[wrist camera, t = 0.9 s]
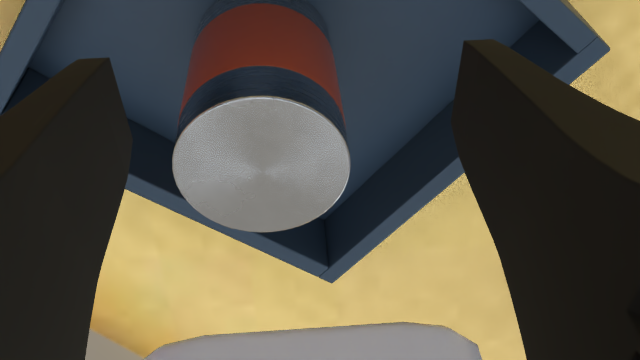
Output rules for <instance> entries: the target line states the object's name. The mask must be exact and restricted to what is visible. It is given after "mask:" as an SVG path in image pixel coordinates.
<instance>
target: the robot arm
mask: <svg viewBox="0 0 640 360" xmlns="http://www.w3.org/2000/svg"><path fill="white" fill-rule="evenodd" d="M451 126H452V131H453V135H454V139H455V143H456V147H457V151H458V155H459V159H460V162H461V164H462V167H463V169H464V171H465V174H466V176H467V179H468V181H469V184H470V186H471V188H472V191H473V193H474V195H475V198H476V200H477V202H478V205H479V207H480V210H481V212H482V214H483V217H484V219H485V221H486V224H487V226H488V228H489V231H490V233H491V235H492V238H493V240H494V243H495V246H496V248H497V251H498V254H499V257H500V260H501V263H502V267H503V270H504V274H505V277H506V280H507V284H508V287H509V291H510V294H511V298H512V302H513V306H514V310H515V313H516V317H517V321H518V325H519V329H520V333H521V336H522V341H523V345H524V349H525V353H526V358H527V360H640V121H639V120H636V119H634V118H632V117H630V116H627V115H625V114H623V113H620V112H618V111H616V110H614V109H612V108H610V107H608V106H606V105H604V104H602V103H600V102H599V101H597V100H595V99H593V98H591V97H589V96H588V95H586V94H584V93H582V92H580V91H578V90H577V89H575V88H573V87H572V86H570V85H568V84H566V83H565V82H563V81H561V80H560V79H558V78H556V77H555V76H553V75H552V74H550V73H548V72H547V71H545V70H544V69H542V68H540V67H539V66H537V65H536V64H534V63H533V62H531V61H529V60H528V59H526V58H525V57H523V56H522V55H520V54H518V53H517V52H515V51H514V50H512V49H510V48H509V47H507V46H505V45H504V44H502V43H500V42H498V41H496V40H494V39H485V40H464V42H463V48H462V54H461V60H460V66H459V73H458V79H457V85H456V91H455V97H454V103H453V110H452V116H451ZM132 142H133V138H132V134H131V131H130V127H129V124H128V120H127V117H126V113H125V110H124V106H123V103H122V99H121V96H120V92H119V89H118V85H117V82H116V78H115V75H114V71H113V68H112V64H111V61H110V57H108V58H87V59H78V60H76V61H74V62H73V63H71V64H70V65H68V66H67V67H65V68H64V69H63V70H61V71H60V72H59V73H57V74H56V75H55V76H53V77H52V78H51V79H49V80H48V81H47V82H45V83H44V84H43V85H42V86H40V87H39V88H38V89H36V90H35V91H34V92H32V93H31V94H30V95H28V96H27V97H26V98H24V99H23V100H22V101H21V102H19V103H18V104H17V105H15V106H14V107H13V108H11V109H10V110H8V111H7V112H5V113H4V114H3V115H1V116H0V360H85V355H86V348H87V341H88V334H89V328H90V322H91V316H92V310H93V304H94V299H95V293H96V287H97V282H98V278H99V274H100V270H101V266H102V262H103V259H104V256H105V252H106V249H107V246H108V242H109V239H110V236H111V233H112V229H113V226H114V223H115V220H116V216H117V213H118V210H119V206H120V203H121V200H122V196H123V193H124V189H125V186H126V182H127V179H128V172H129V166H130V158H131V150H132ZM143 360H482V358H481V355H480V352H479V348H478V345H477V344H475V343H473V342H472V341H470V340H468V339H467V338H465V337H463V336H462V335H460V334H458V333H457V332H455V331H453V330H452V329H450V328H447V327H445V326H440V325H430V324H419V323H409V322H397V323H382V324H367V325H352V326H337V327H322V328H307V329H292V330H278V331H263V332H248V333H233V334H218V335H204V336H200V337H195V338H191V339H187V340H182V341H178V342H174V343H169V344H165V345H163V346H161V347H159V348H157V349H156V350H155V351H153V352H152V353H151V354H150V355H148V356H147V357H146V358H144V359H143Z"/></svg>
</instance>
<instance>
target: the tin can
mask: <svg viewBox="0 0 640 360" xmlns="http://www.w3.org/2000/svg"><path fill="white" fill-rule="evenodd" d="M350 167H351V161H350V152H349V146H348V140H347V134H346V126H345V119H344V113H343V107H342V101H341V96H340V90H339V84H338V78H337V72H336V66H335V61H334V56H333V52H332V46H331V41H330V36H329V32H328V29H327V26H326V24H325V22H324V20H323V18H322V16H321V15H320V13H319V12H318V11H317V10H316V8H315V7H314V6H313V5H312V4H311V3H310V2H308V1H307V0H216V1H215V2H214V3H213V4H212V5H211V6H210V7H209V8H208V9H207V10H206V12H205V13H204V14H203V16H202V18H201V20H200V22H199V25H198V28H197V30H196V36H195V41H194V46H193V49H192V53H191V58H190V64H189V69H188V74H187V79H186V84H185V89H184V94H183V100H182V105H181V110H180V115H179V121H178V129H177V134H176V140H175V145H174V150H173V156H172V170H173V176H174V179H175V182H176V185H177V187H178V189H179V190H180V192H181V194H182V195H183V197H184V198H185V199H186V201H187V202H188V203H189V204H190V205H191V206H192V207H193V208H194V209H195V210H197V211H198V212H199V213H200V214H202V215H203V216H205V217H207V218H208V219H210V220H212V221H214V222H216V223H218V224H220V225H223V226H226V227H229V228H233V229H237V230H242V231H248V232H275V231H282V230H287V229H292V228H295V227H298V226H301V225H303V224H306V223H308V222H310V221H312V220H314V219H316V218H317V217H319V216H320V215H322V214H323V213H325V212H326V211H327V210H328V209H329V208H330V207H332V206H333V205H334V203H335V202H336V201H337V200H338V199H339V197H340V196H341V194H342V193H343V191H344V189H345V187H346V184H347V182H348V179H349V175H350Z"/></svg>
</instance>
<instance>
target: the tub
mask: <svg viewBox="0 0 640 360" xmlns="http://www.w3.org/2000/svg"><path fill="white" fill-rule="evenodd" d="M215 1H216V0H26V1H25V3H24V5H23V7H22V9H21V11H20V13H19V15H18V17H17V19H16V21H15V23H14V25H13V27H12V29H11V31H10V33H9V35H8V37H7V39H6V42H5V44H4V46H3V48H2V50H1V52H0V116H1V115H3V114H4V113H5V112H7V111H8V110H10V109H11V108H13V107H14V106H15V105H17V104H18V103H19V102H21V101H22V100H23V99H24V98H26V97H27V96H28V95H30V94H31V93H32V92H34V91H35V90H36V89H38V88H39V87H40V86H42V85H43V84H44V83H45V82H47V81H48V80H49V79H51V78H52V77H53V76H55V75H56V74H57V73H59V72H60V71H61V70H63V69H64V68H65V67H67V66H68V65H70V64H71V63H73V62H74V61H76V60H78V59H87V58H108V57H110V61H111V64H112V68H113V71H114V75H115V78H116V82H117V85H118V89H119V92H120V96H121V99H122V103H123V106H124V110H125V113H126V117H127V120H128V124H129V127H130V131H131V134H132V138H133V142H132V150H131V158H130V166H129V172H128V179H127V182H126V186H125V189H127V190H129V191H131V192H133V193H135V194H137V195H140V196H142V197H144V198H146V199H148V200H151V201H153V202H155V203H157V204H159V205H162V206H164V207H166V208H168V209H170V210H172V211H175V212H177V213H179V214H181V215H183V216H186V217H188V218H190V219H192V220H194V221H197V222H199V223H201V224H203V225H205V226H208V227H210V228H212V229H214V230H216V231H218V232H221V233H223V234H225V235H227V236H229V237H232V238H234V239H236V240H238V241H240V242H243V243H245V244H247V245H249V246H251V247H253V248H256V249H258V250H260V251H262V252H264V253H267V254H269V255H271V256H273V257H275V258H278V259H280V260H282V261H284V262H286V263H289V264H291V265H293V266H295V267H297V268H299V269H302V270H304V271H306V272H308V273H310V274H313V275H315V276H317V277H318V276H319V278H321V279H323V280H325V281H328V282H330V283H333V282H334V281H336V280H337V279H338V278H339V277H340V276H342V275H343V274H344V273H345V272H346V271H348V270H349V269H350V268H351V267H352V266H354V265H355V264H356V263H357V262H358V261H360V260H361V259H362V258H363V257H364V256H365V255H367V254H368V253H369V252H370V251H371V250H373V249H374V248H375V247H376V246H377V245H379V244H380V243H381V242H382V241H383V240H385V239H386V238H387V237H388V236H389V235H391V234H392V233H393V232H394V231H395V230H396V229H398V228H399V227H400V226H401V225H402V224H404V223H405V222H406V221H407V220H408V219H410V218H411V217H412V216H413V215H414V214H416V213H417V212H418V211H419V210H420V209H422V208H423V207H424V206H425V205H426V204H427V203H429V202H430V201H431V200H432V199H433V198H435V197H436V196H437V195H438V194H439V193H441V192H442V191H443V190H444V189H445V188H447V187H448V186H449V185H450V184H451V183H453V182H454V181H455V180H456V179H457V178H458V177H460V176H461V175H462V174H463V173H464V172H465V171H464V169H463V167H462V164H461V162H460V159H459V155H458V151H457V147H456V143H455V139H454V135H453V131H452V126H451V116H452V110H453V103H454V97H455V91H456V85H457V79H458V73H459V66H460V60H461V54H462V48H463V42H464V40H485V39H494V40H496V41H498V42H500V43H502V44H504V45H505V46H507V47H509V48H510V49H512V50H514V51H515V52H517V53H518V54H520V55H522V56H523V57H525V58H526V59H528V60H529V61H531V62H533V63H534V64H536V65H537V66H539V67H540V68H542V69H544V70H545V71H547V72H548V73H550V74H552V75H553V76H555V77H556V78H558V79H560V80H561V81H563V82H565V83H566V84H568V85H569V84H571V83H572V82H573V81H574V80H575V79H577V78H578V77H579V76H580V75H581V74H582V73H584V72H585V71H586V70H587V69H588V68H590V67H591V66H592V65H593V64H594V63H596V62H597V61H598V60H599V59H600V58H602V57H603V56H604V55H605V54H606V53H608V52H609V51H610V47H609V46H608V45H607V44H606V43H605V42H604V41H603V39H602V38H601V37H600V36H599V35H598V34H597V33H596V32H595V30H594V29H593V28H592V27H591V26H590V25H589V24H588V23H587V22H586V20H585V19H584V18H583V17H582V16H581V15H580V14H579V13H578V12H577V10H576V9H575V8H574V7H573V6H572V5H571V4H570V3H569V2H568V1H567V0H307V1H308V2H310V3H311V4H312V5H313V6H314V7H315V8H316V10H317V11H318V12H319V13H320V15H321V16H322V18H323V20H324V22H325V24H326V26H327V29H328V32H329V36H330V41H331V46H332V52H333V56H334V61H335V66H336V72H337V78H338V84H339V90H340V96H341V101H342V107H343V113H344V119H345V126H346V134H347V140H348V146H349V152H350V161H351V167H350V175H349V179H348V182H347V184H346V187H345V189H344V191H343V193H342V194H341V196H340V197H339V199H338V200H337V201H336V202H335V203H334V205H333V206H332V207H330V208H329V209H328V210H327V211H326V212H325V213H323V214H322V215H320V216H319V217H317V218H316V219H314V220H312V221H310V222H308V223H306V224H303V225H301V226H298V227H295V228H292V229H287V230H282V231H275V232H248V231H242V230H237V229H233V228H229V227H226V226H223V225H220V224H218V223H216V222H214V221H212V220H210V219H208V218H207V217H205V216H203V215H202V214H200V213H199V212H198V211H197V210H195V209H194V208H193V207H192V206H191V205H190V204H189V203H188V202H187V201H186V199H185V198H184V197H183V195H182V194H181V192H180V190H179V189H178V187H177V185H176V182H175V179H174V176H173V170H172V156H173V150H174V145H175V140H176V134H177V129H178V121H179V115H180V110H181V105H182V100H183V94H184V89H185V84H186V79H187V74H188V69H189V64H190V58H191V53H192V49H193V46H194V41H195V36H196V30H197V28H198V25H199V22H200V20H201V18H202V16H203V14H204V13H205V12H206V10H207V9H208V8H209V7H210V6H211V5H212V4H213V3H214V2H215Z"/></svg>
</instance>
